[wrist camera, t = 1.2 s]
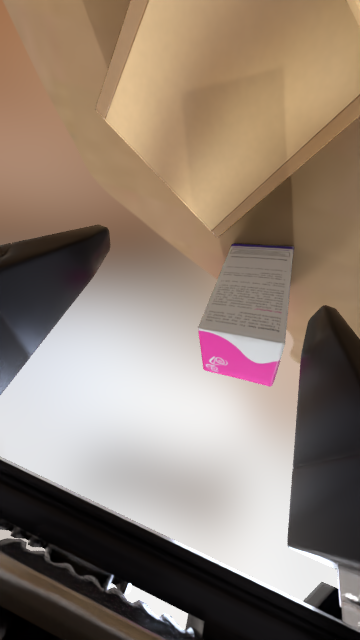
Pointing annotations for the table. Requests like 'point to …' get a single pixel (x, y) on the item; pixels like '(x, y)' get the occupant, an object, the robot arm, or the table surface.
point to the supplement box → (248, 313)
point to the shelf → (232, 93)
